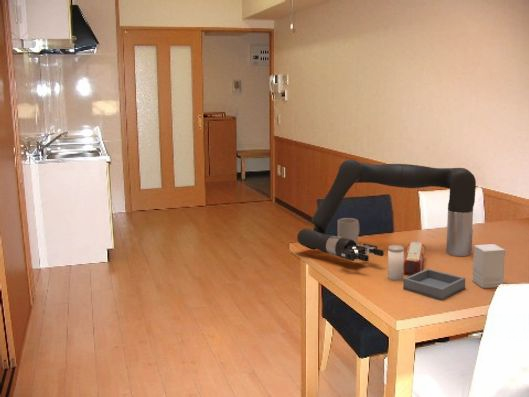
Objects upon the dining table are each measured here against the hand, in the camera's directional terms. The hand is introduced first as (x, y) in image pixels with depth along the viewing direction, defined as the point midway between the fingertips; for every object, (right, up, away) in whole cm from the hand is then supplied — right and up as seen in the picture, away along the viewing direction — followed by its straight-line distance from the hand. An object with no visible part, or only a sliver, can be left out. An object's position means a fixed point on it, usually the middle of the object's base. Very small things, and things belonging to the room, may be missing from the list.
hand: (375, 256), depth 195 cm
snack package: (+15, -5, +6) cm, 17 cm away
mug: (-4, +1, +35) cm, 35 cm away
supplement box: (+34, -8, -13) cm, 38 cm away
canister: (+6, -7, -5) cm, 10 cm away
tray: (+16, -9, -16) cm, 24 cm away
